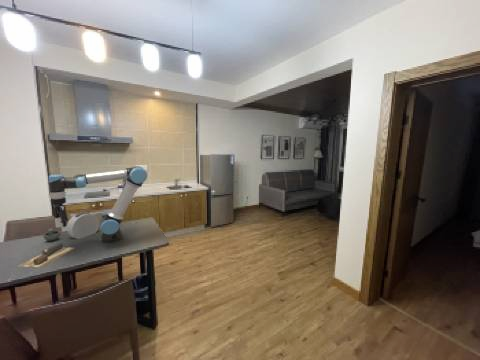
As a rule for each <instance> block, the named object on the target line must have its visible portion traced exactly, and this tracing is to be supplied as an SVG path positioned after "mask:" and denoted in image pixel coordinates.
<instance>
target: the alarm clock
mask: <svg viewBox="0 0 480 360" xmlns="http://www.w3.org/2000/svg"><path fill="white" fill-rule="evenodd" d="M99 227H100V221H99V218H98V217H97V216H96V215H95V214H93V213H90V212H87V211H84V212H79V213H77V214H74V215H73V216H71V218H70V219H69V220H68V221H67V230H68V231H66V234H67V235H68V236H69V237H70V238H72V239H76V240H81V239H84V238H87V237H89V236H92V235H94V234H96V233H97V231H99Z"/></svg>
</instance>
